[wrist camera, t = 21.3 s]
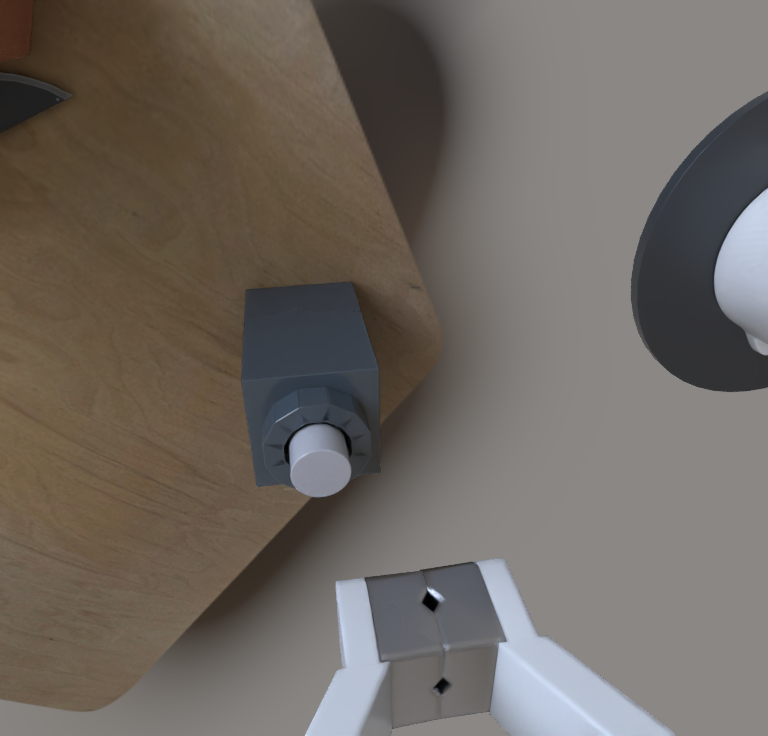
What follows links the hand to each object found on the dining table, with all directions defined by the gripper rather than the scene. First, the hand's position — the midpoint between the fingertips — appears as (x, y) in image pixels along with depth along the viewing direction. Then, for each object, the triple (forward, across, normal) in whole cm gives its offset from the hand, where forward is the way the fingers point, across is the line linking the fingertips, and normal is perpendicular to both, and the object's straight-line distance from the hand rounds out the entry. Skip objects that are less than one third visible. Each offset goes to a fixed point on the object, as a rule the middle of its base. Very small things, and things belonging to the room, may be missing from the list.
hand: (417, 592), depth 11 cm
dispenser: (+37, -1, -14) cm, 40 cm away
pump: (+22, -1, -14) cm, 26 cm away
